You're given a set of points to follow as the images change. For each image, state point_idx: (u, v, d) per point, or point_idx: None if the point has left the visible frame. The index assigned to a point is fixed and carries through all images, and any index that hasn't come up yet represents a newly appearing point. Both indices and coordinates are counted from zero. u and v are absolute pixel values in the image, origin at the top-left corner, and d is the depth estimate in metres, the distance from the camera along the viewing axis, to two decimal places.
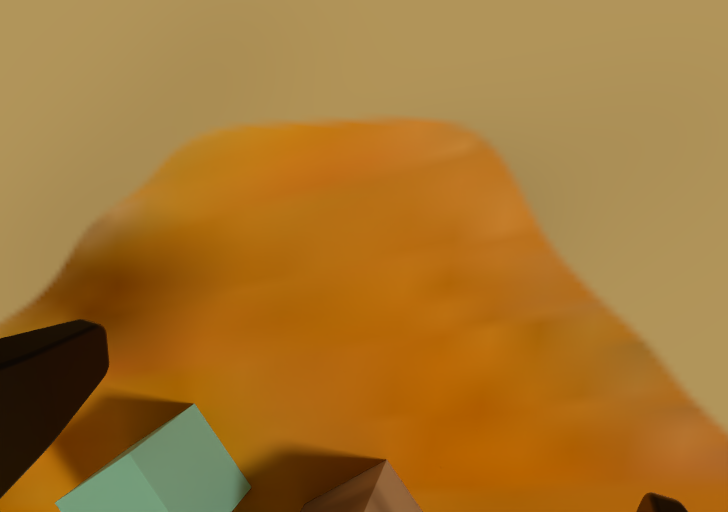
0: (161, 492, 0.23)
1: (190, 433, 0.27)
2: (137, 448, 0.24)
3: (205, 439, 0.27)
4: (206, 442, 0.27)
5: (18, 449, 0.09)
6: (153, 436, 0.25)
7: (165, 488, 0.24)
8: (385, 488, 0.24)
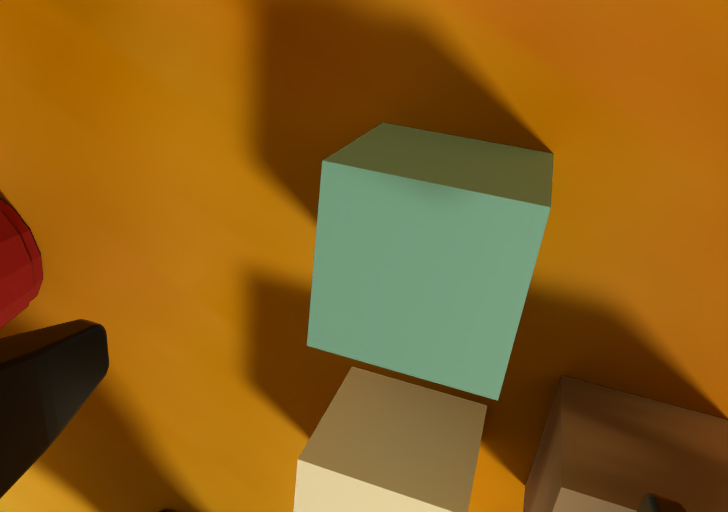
0: (526, 292, 0.13)
1: None
2: None
3: None
4: None
5: (18, 449, 0.09)
6: None
7: None
8: None
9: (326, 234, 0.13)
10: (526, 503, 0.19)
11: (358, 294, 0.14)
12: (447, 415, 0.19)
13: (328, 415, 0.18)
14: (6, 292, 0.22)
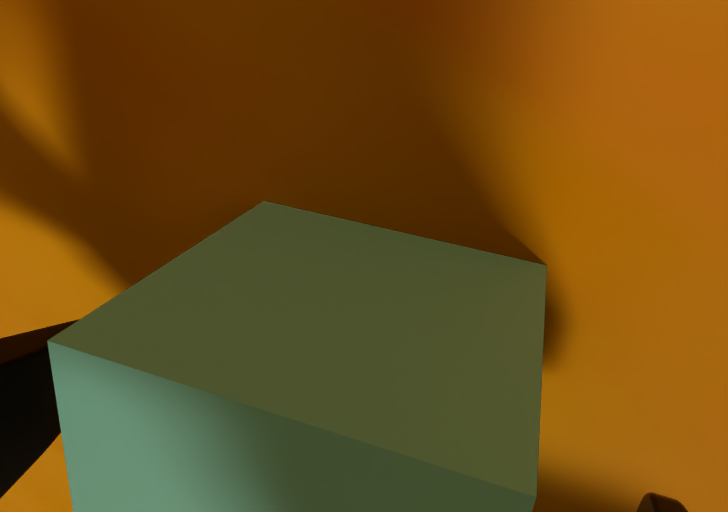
0: None
1: None
2: (536, 459, 0.05)
3: None
4: None
5: (18, 449, 0.09)
6: (539, 391, 0.06)
7: None
8: None
9: (84, 471, 0.07)
10: None
11: None
12: None
13: None
14: None
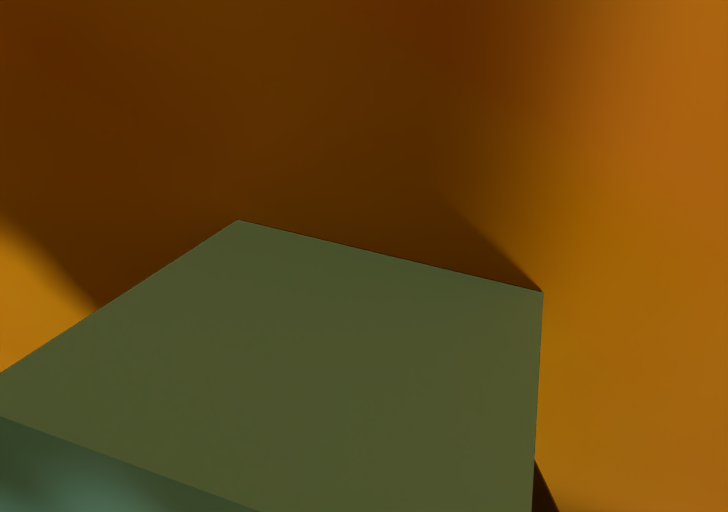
0: None
1: None
2: None
3: None
4: None
5: None
6: (533, 457, 0.05)
7: None
8: None
9: None
10: None
11: None
12: None
13: None
14: None
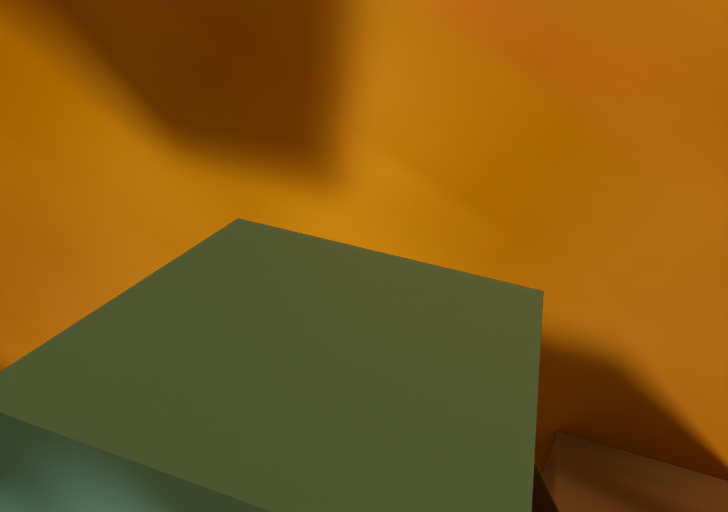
0: None
1: None
2: None
3: None
4: None
5: None
6: (533, 453, 0.05)
7: None
8: None
9: None
10: None
11: None
12: None
13: None
14: None
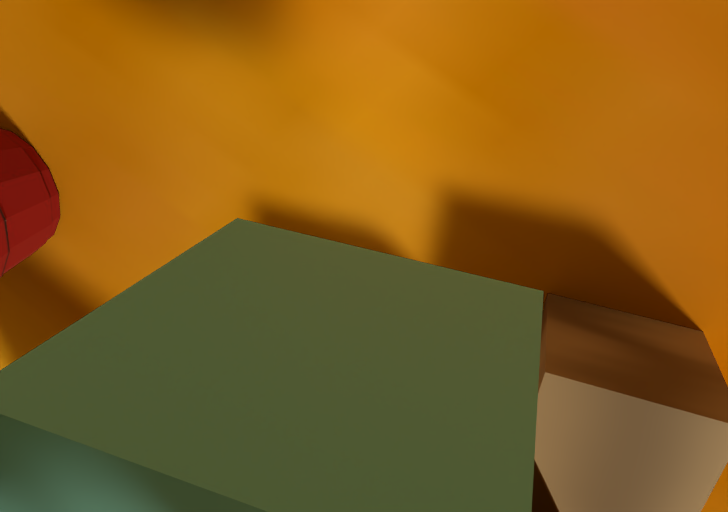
0: None
1: None
2: None
3: None
4: None
5: None
6: (533, 454, 0.05)
7: None
8: None
9: None
10: None
11: None
12: None
13: None
14: (27, 224, 0.23)
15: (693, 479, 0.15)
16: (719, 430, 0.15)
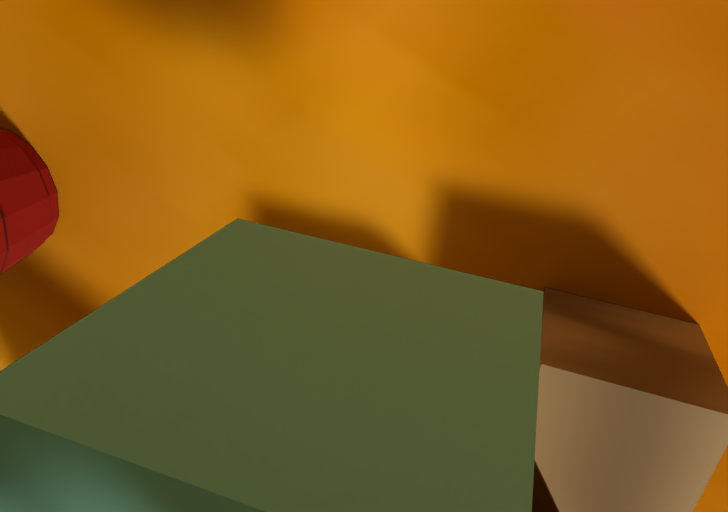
0: None
1: None
2: None
3: None
4: None
5: None
6: (533, 455, 0.05)
7: None
8: None
9: None
10: None
11: None
12: None
13: None
14: (26, 222, 0.23)
15: (690, 470, 0.15)
16: (715, 420, 0.15)
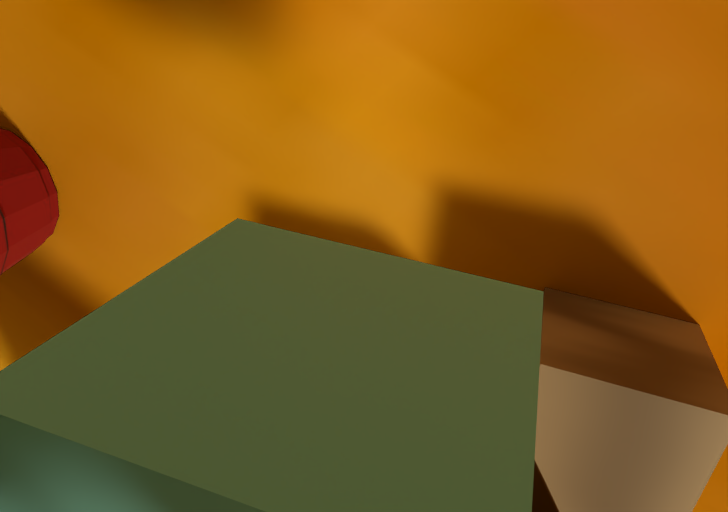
0: None
1: None
2: None
3: None
4: None
5: None
6: (533, 455, 0.05)
7: None
8: None
9: None
10: None
11: None
12: None
13: None
14: (26, 222, 0.23)
15: (689, 470, 0.15)
16: (714, 421, 0.15)
